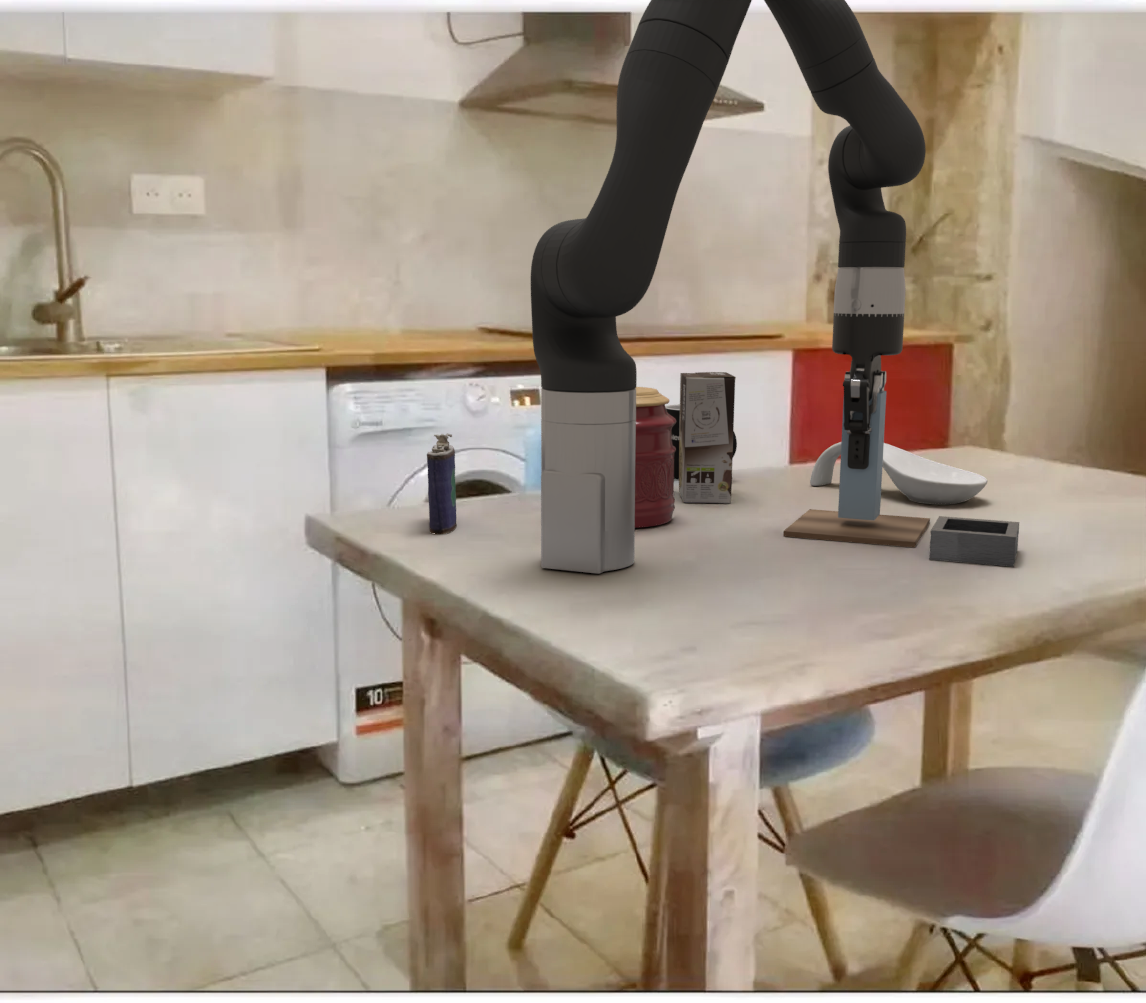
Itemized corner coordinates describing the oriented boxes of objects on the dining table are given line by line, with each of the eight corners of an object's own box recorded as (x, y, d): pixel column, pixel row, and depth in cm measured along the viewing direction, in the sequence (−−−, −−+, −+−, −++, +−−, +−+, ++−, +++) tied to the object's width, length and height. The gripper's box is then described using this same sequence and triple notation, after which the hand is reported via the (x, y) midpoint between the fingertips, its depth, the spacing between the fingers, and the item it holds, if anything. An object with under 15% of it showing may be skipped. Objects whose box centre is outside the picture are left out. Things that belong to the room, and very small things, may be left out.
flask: (434, 518, 137) (433, 428, 135) (459, 518, 137) (458, 428, 135) (427, 535, 128) (425, 438, 126) (453, 535, 128) (452, 438, 126)
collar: (1013, 566, 114) (1015, 537, 113) (928, 559, 117) (930, 530, 116) (1017, 550, 121) (1019, 522, 120) (937, 543, 124) (939, 516, 123)
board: (914, 547, 122) (915, 542, 122) (783, 536, 127) (783, 531, 127) (929, 523, 135) (930, 518, 135) (809, 514, 140) (809, 509, 140)
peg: (874, 520, 128) (881, 393, 126) (837, 517, 130) (843, 392, 127) (879, 514, 132) (886, 390, 129) (844, 511, 133) (850, 389, 131)
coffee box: (733, 503, 147) (736, 376, 144) (682, 503, 147) (684, 375, 144) (725, 491, 156) (728, 370, 153) (677, 491, 156) (679, 370, 153)
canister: (544, 523, 134) (544, 370, 131) (595, 505, 146) (595, 364, 142) (647, 534, 128) (649, 374, 125) (691, 514, 140) (694, 367, 136)
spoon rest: (1000, 502, 150) (1004, 447, 149) (961, 514, 141) (964, 456, 140) (837, 481, 166) (840, 431, 164) (793, 491, 157) (795, 439, 156)
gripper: (895, 311, 119) (886, 477, 122) (912, 309, 132) (904, 459, 135) (821, 311, 122) (814, 472, 125) (845, 309, 134) (839, 455, 138)
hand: (861, 464), depth 130 cm, fingers closed on peg, 4 cm apart
